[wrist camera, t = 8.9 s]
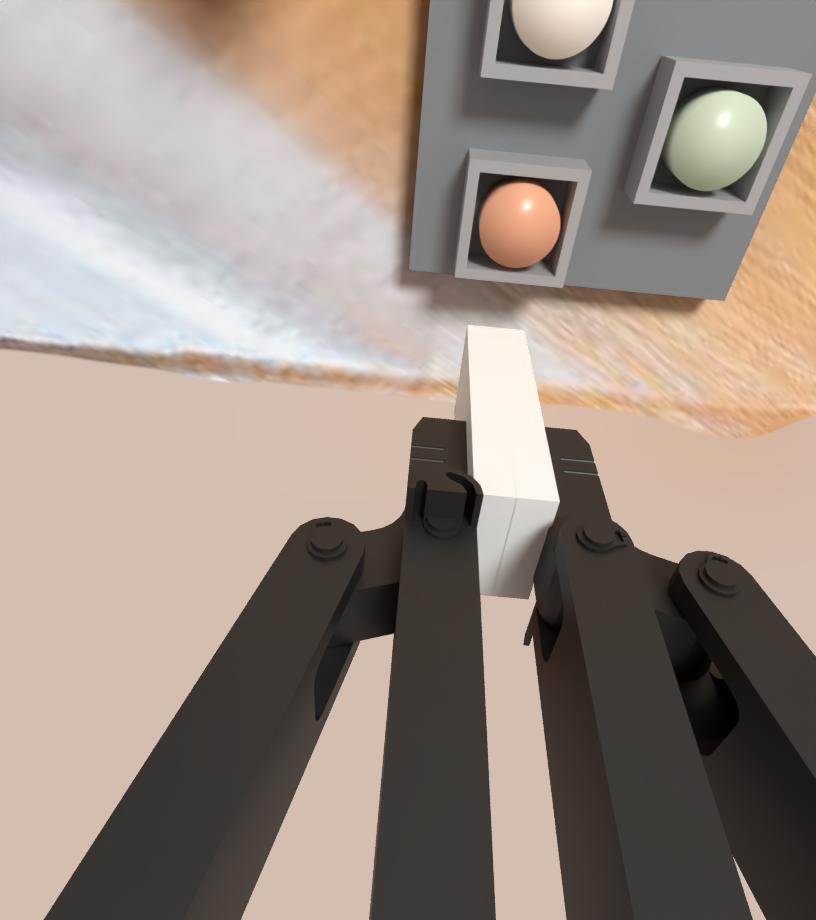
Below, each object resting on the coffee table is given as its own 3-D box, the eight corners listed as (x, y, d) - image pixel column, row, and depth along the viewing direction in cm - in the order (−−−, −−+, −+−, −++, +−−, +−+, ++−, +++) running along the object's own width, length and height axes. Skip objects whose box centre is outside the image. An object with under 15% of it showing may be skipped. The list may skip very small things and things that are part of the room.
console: (410, 258, 39) (406, 285, 35) (441, -124, 28) (439, -139, 24) (713, 288, 39) (739, 318, 35) (868, -82, 28) (928, -91, 24)
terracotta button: (473, 249, 36) (474, 264, 34) (484, 171, 33) (486, 182, 31) (545, 256, 36) (550, 271, 34) (562, 178, 33) (569, 190, 31)
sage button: (647, 175, 33) (659, 186, 31) (676, 81, 30) (691, 88, 28) (727, 182, 33) (743, 194, 31) (762, 90, 30) (783, 97, 28)
